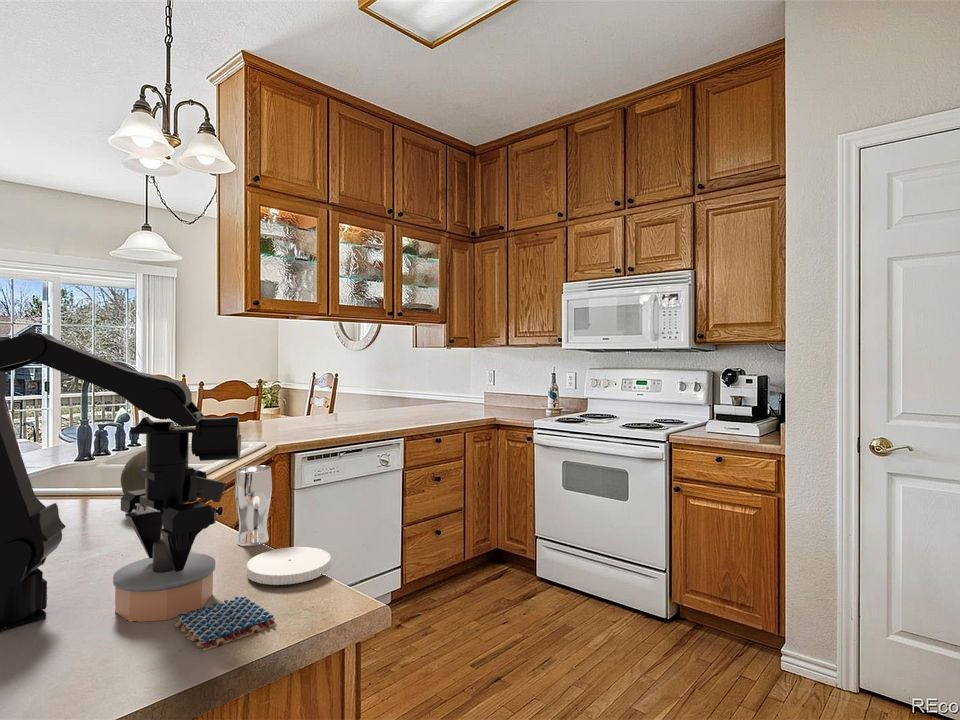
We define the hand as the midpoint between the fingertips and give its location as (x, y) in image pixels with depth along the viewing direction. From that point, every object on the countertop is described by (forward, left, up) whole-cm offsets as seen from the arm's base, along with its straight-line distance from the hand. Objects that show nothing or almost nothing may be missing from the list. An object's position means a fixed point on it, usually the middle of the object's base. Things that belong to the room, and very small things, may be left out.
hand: (165, 564), depth 86 cm
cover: (0, 0, -1) cm, 1 cm away
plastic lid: (+19, -4, -6) cm, 20 cm away
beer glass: (+24, +16, -6) cm, 29 cm away
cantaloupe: (+21, +54, -6) cm, 58 cm away
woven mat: (+2, -14, -7) cm, 16 cm away
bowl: (0, 0, -6) cm, 6 cm away
